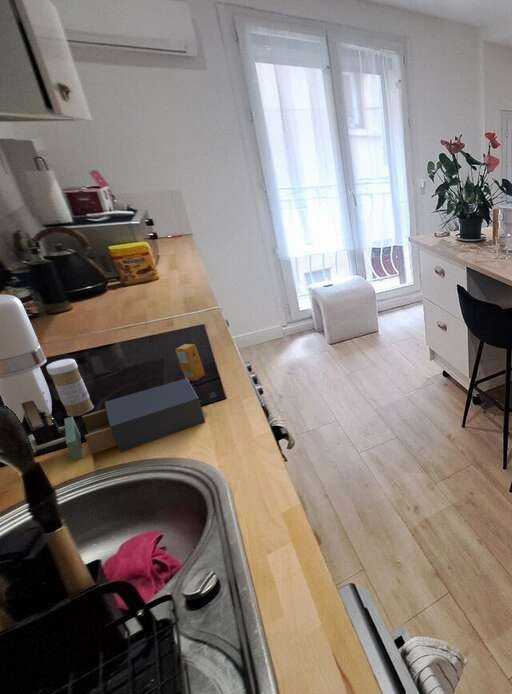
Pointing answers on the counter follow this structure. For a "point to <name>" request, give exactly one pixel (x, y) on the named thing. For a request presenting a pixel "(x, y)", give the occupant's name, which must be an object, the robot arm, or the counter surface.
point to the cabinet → (153, 413)
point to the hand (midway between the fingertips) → (50, 441)
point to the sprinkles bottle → (70, 387)
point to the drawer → (96, 437)
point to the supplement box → (190, 362)
